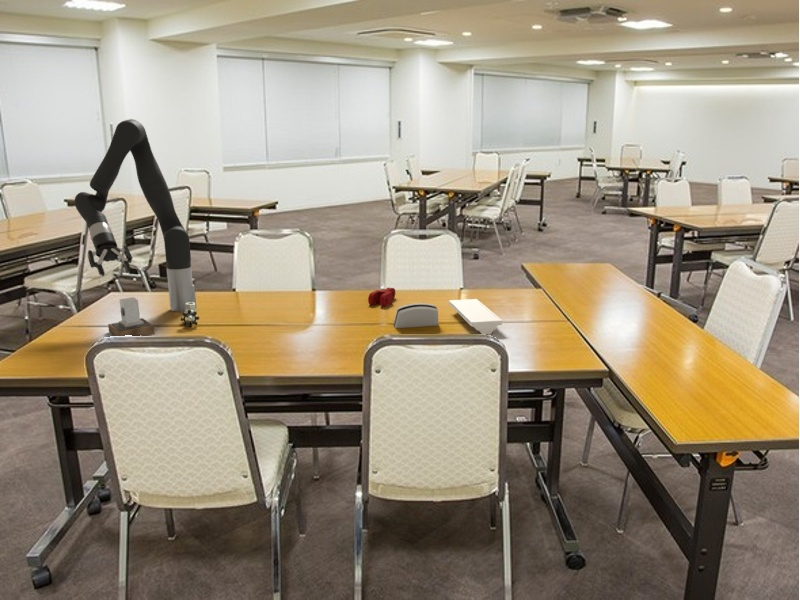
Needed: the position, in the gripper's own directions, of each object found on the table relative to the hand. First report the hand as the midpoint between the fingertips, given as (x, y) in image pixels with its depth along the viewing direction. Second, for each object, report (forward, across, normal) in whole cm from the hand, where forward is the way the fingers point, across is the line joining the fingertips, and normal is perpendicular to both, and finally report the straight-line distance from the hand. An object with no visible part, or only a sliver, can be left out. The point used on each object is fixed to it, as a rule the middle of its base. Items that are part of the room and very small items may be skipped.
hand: (115, 273), depth 232 cm
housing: (+20, 0, +4) cm, 20 cm away
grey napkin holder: (+63, +84, -34) cm, 111 cm away
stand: (+22, 0, +6) cm, 23 cm away
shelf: (+71, +104, -42) cm, 132 cm away
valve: (+23, +21, +6) cm, 32 cm away
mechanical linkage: (+40, +96, -10) cm, 104 cm away
